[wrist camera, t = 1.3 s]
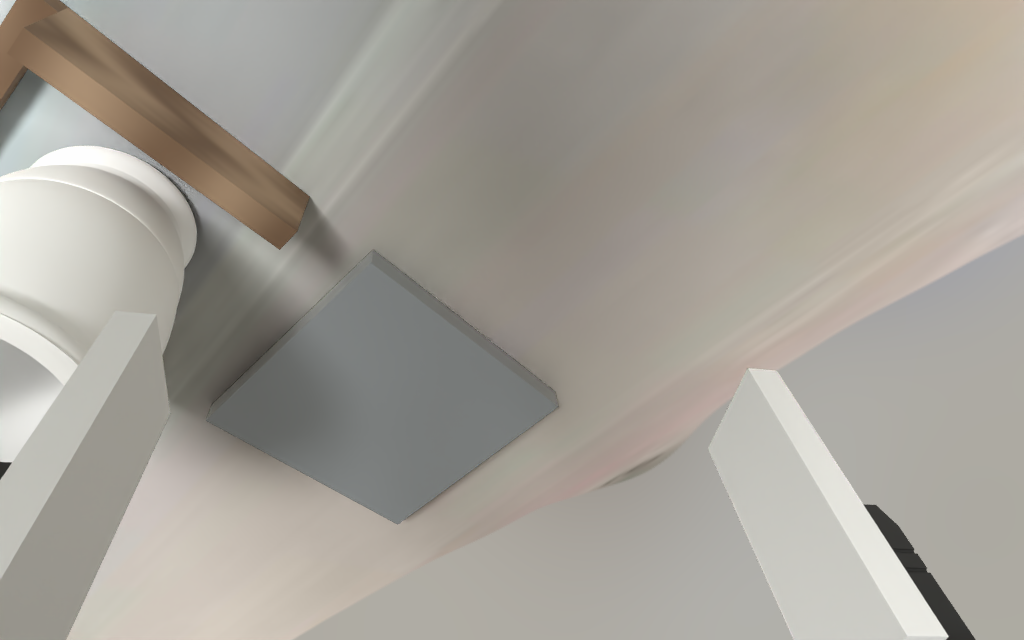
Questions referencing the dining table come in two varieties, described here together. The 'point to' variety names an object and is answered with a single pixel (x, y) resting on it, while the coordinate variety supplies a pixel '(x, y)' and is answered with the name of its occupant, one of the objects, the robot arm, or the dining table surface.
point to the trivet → (383, 394)
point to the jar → (80, 269)
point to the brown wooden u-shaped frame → (146, 114)
